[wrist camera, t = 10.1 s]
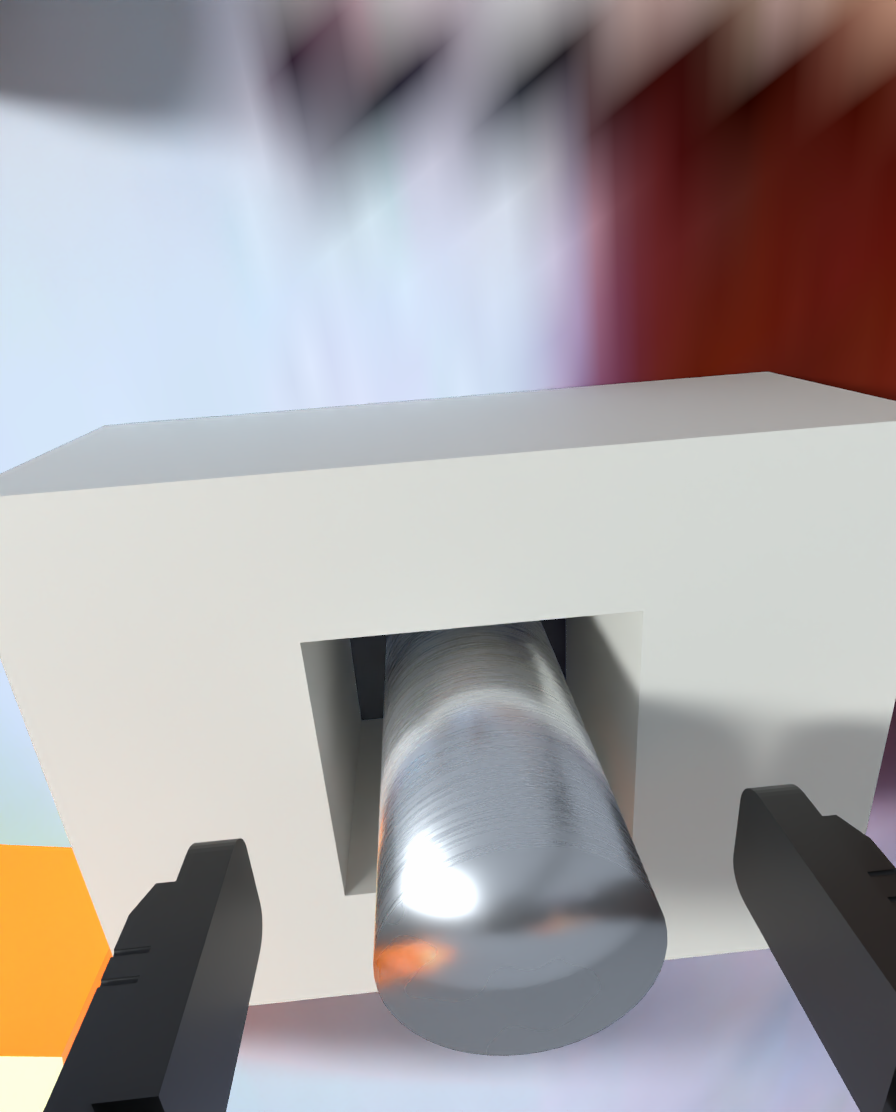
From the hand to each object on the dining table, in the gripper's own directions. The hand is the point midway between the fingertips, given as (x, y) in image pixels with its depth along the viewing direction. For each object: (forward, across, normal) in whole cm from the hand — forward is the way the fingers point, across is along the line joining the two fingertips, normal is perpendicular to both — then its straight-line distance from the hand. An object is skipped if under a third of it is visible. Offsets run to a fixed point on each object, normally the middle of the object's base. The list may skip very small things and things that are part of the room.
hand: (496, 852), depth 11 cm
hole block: (+8, 0, 0) cm, 8 cm away
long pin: (+8, 0, 0) cm, 8 cm away
